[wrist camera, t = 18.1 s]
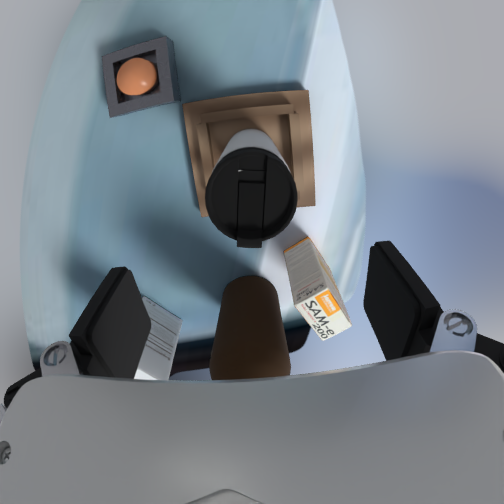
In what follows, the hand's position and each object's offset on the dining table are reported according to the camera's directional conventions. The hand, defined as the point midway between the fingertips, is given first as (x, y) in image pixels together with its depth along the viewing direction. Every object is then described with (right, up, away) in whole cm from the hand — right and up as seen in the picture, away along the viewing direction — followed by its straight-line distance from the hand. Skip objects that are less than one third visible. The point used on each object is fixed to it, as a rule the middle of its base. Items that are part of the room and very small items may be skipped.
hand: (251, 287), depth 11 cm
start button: (-14, +24, +20) cm, 34 cm away
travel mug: (0, +14, +25) cm, 29 cm away
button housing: (-14, +25, +21) cm, 35 cm away
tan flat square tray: (0, +15, +26) cm, 30 cm away
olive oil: (0, -6, +38) cm, 39 cm away
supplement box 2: (+9, 0, +35) cm, 36 cm away
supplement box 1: (-19, -12, +41) cm, 47 cm away
